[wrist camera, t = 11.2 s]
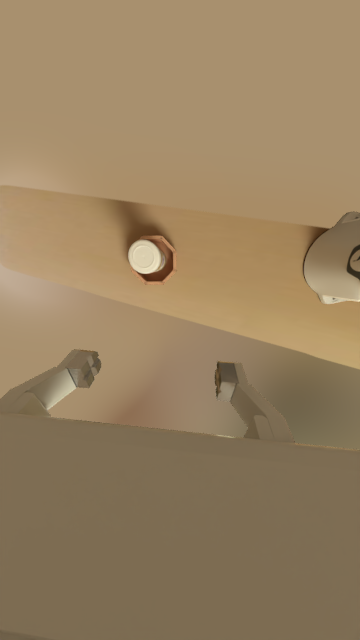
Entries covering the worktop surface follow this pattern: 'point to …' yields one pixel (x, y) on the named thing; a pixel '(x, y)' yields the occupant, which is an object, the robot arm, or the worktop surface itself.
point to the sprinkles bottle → (146, 257)
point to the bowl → (169, 268)
